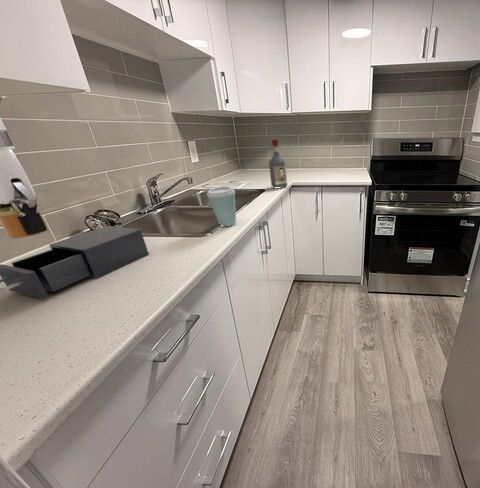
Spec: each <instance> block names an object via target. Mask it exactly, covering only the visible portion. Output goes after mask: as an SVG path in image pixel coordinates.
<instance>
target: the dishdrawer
mask: <svg viewBox="0 0 480 488" xmlns="http://www.w3.org/2000/svg"><path fill="white" fill-rule="evenodd" d="M144 238H145V237H144V236H143V233H142V230H141V229H138V228H131V227H121V226H114V225H113V226H112V225H106V226H102V227H100V228H97V229H93V230H91V231H87V232H83V233H81V234H78V235H75V236H72V237H68V238H64V239H62V240H58V241H55V242H52V243H50V244H48V245H49V247H50V250H51V249H54V248H60V249H66V250H72V251H78V252H84V255H85V257H86V259H87V261H88V264H89V266H90V268H91V270H92V273H93V274H92V275H89V276H87V277H86V278H91V279H95V280H97V279H100V278H102V277H104V276H107V275H108V274H111V273H112V272H115V271H117V270H119V269H121V268H123V267H125V266H127V265H131V264H132V263H134V262H137V261H138V260H141V259H142V258H145V257H146V256H148V255H150V253H149V250H148V247H147V245H146V241H145V239H144Z"/></svg>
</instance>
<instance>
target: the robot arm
mask: <svg viewBox="0 0 480 488" xmlns="http://www.w3.org/2000/svg"><path fill="white" fill-rule="evenodd" d="M15 149H16V147H15V145H14V143H13V141H12V139H11V136H10V135H9V132H8V131H7V127H6V126H5V124H4V122H3V120H2V118H1V116H0V209H1V208H5V207H10V206H13V207H14V209H15V210H16V211H17V213H18V214H19V215H20V216H19V217H18V219H19V221H20V223H21V225H22V227H23V229H24V231H25V233H26V234H27V235H33V234H36V233H40V232H43V233H45V232H47V231H48V230H47V228H48V227H47V228H46V226H47V225H46V226H45V224H46V223H45V224H44V222H45V221H44V222H43V220H44V219H43V220H42V218H41V216H40V213H41V211H40V209H39V210H38V208H39V207H38V208H37V206H38V204H37V202H38V198H37V196H36V193H35V190H34V188H33V186H32V182H31V181H30V179H29V176H28V175H27V173H26V171H25V170H24V168H23V166H22V164H21V162H20V160H19V159H18V157H17V156H16V154H15V152H14V151H13V150H15ZM19 205H22V208H21V207H20V206H19ZM39 211H40V212H39ZM46 230H47V231H46ZM44 231H45V232H44ZM40 234H41V233H40ZM33 236H34V235H33Z"/></svg>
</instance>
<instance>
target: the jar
mask: <svg viewBox="0 0 480 488" xmlns="http://www.w3.org/2000/svg"><path fill="white" fill-rule="evenodd" d="M19 206H20V207H21V208H22V204H19ZM37 208H38V210H39V212H40V216H41V218H42V220H43V222H44V224H45V226H46V228H47V230H46V231H44V232H40V233H36V234H33V235H27V234H26V233H25V231H24V229H23V227H22V225H21V223H20V221H19V219H18V217H19V216H20V215H19V214H18V213H17V211H16V210H15V209H14V207H13V206H10V207H5V208H1V209H0V225H1V227H2V228H3V230H4V232H5V234H6V236H7V237H8V238H9V239H20V238H28V237H33V236H36V235H39V234H43V233H45V232H47V231H48V230H49V228H48V226H47V223H46V221H45V220H44V218H43V215H42V213H41V210H40V208H39V206H38V205H37Z"/></svg>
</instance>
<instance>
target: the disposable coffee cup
mask: <svg viewBox="0 0 480 488" xmlns="http://www.w3.org/2000/svg"><path fill="white" fill-rule="evenodd" d="M235 193H236V191H235V189H234V188H233V186H228V185H227V186H225V185H224V186H217V187H214V188H211V189H209V190H208V191H207V193H206V197H207V199H208V201H209V204H210V206H211V208H212V211H213V213H214V216H215V219H216V220H217V223H218V225H219V224H220V225H223V226H229V227H232V226H234V225H236V222H237V213H236V196H235V195H236V194H235ZM220 225H219V226H220ZM231 225H232V226H231Z"/></svg>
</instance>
